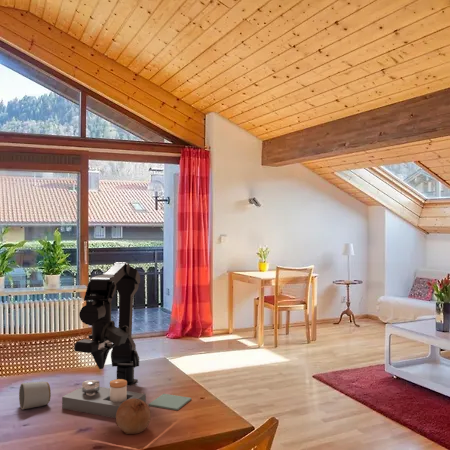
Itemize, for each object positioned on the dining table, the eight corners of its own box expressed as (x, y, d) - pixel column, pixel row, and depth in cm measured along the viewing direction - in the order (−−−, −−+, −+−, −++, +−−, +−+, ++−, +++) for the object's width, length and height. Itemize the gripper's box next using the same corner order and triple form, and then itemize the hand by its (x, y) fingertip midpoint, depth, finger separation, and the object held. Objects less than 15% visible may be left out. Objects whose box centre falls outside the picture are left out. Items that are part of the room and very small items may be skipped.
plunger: (88, 400, 160) (88, 379, 159) (102, 402, 158) (102, 381, 158) (78, 406, 155) (78, 384, 155) (92, 408, 153) (92, 386, 153)
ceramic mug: (51, 407, 155) (51, 382, 155) (24, 412, 150) (24, 387, 150) (42, 397, 163) (42, 374, 163) (15, 402, 159) (15, 378, 159)
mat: (163, 396, 165) (163, 393, 165) (191, 400, 161) (191, 397, 161) (148, 407, 156) (148, 404, 156) (177, 412, 152) (177, 408, 152)
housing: (86, 396, 164) (86, 384, 164) (145, 406, 156) (145, 393, 156) (62, 409, 153) (62, 396, 153) (124, 421, 145) (124, 407, 145)
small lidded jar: (115, 405, 156) (115, 378, 156) (130, 407, 154) (130, 380, 154) (106, 410, 151) (106, 383, 151) (120, 413, 149) (121, 385, 149)
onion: (143, 445, 136) (154, 417, 133) (109, 439, 134) (119, 410, 131) (145, 420, 145) (156, 393, 142) (113, 413, 143) (123, 385, 140)
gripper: (105, 326, 143) (104, 381, 143) (140, 315, 160) (139, 364, 160) (73, 322, 147) (72, 376, 147) (111, 312, 164) (110, 359, 164)
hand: (101, 368), depth 154 cm, fingers closed
